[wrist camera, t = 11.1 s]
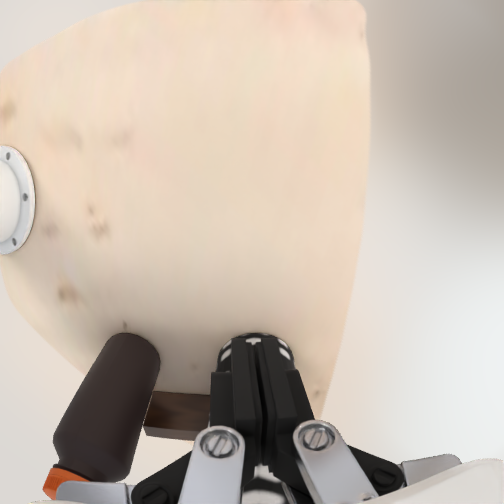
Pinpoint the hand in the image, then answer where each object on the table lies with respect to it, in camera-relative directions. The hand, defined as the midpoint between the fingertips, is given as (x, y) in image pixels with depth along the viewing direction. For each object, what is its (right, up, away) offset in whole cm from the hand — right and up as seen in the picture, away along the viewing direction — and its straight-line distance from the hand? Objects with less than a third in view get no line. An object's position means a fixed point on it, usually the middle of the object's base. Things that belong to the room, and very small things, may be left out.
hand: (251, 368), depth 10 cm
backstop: (-5, -14, +21) cm, 26 cm away
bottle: (-14, -7, +19) cm, 24 cm away
